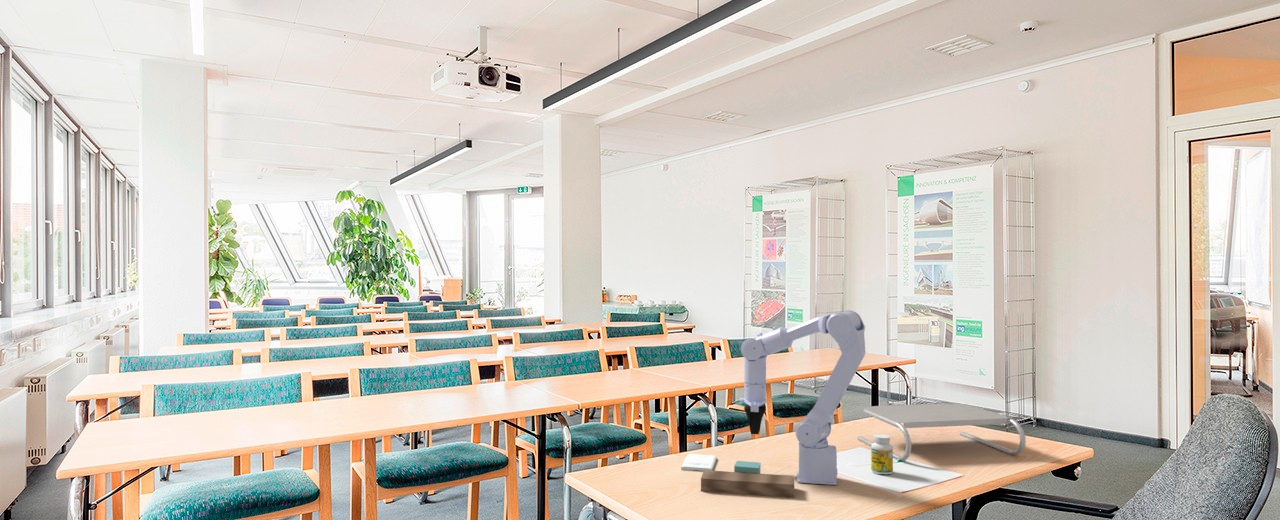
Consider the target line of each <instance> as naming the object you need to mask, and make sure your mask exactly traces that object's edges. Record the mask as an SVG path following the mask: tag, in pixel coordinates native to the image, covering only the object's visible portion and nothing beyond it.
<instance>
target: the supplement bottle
mask: <svg viewBox="0 0 1280 520" xmlns="http://www.w3.org/2000/svg"><path fill="white" fill-rule="evenodd" d="M873 441H874V442H873V444H872V445H871V446H870V450H871V453H870V455H871V456H870V457H871V458H870V460H871V461H870V463H871V465H870V466H871V467H870V468H871V470H870V471H871V472H872V473H873V472H874V473H873V474H875V473H877V474H876V475H878V474H891V475H892V474H893V472H894V470H893V469H894V461H893V459H894V458H893V453H894V452H893V451H894V450H893V449H894V448H893V445H892V444H891V443H890V442H891V437H890V436H889V435H888V434H880V433H879V434H874V435H873Z"/></svg>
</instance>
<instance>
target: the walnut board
mask: <svg viewBox="0 0 1280 520" xmlns="http://www.w3.org/2000/svg"><path fill="white" fill-rule="evenodd" d="M700 492H710V493H711V492H712V493H724V494H737V495H738V494H739V495H751V496H767V497H769V496H770V497H780V498H781V497H783V498H784V497H785V498H795V476H794V475H790V474H789V475H787V474H770V473H760V474H758V473H742V472H734V471H723V470H712V471H711V470H704V471H702V474H701V477H700Z"/></svg>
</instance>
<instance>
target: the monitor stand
mask: <svg viewBox="0 0 1280 520" xmlns="http://www.w3.org/2000/svg"><path fill="white" fill-rule="evenodd" d="M863 413H865V414H866V415H868V416H869V417H872V418H874V419H877V420H879V421H881V422H884V423H886V424H888V425H891V426H893V427H895V428H898V429H899V430H900V431H901V433H902V435H903V438H904V441H905V450H904V452H903V455H902V456H901V455H899V454H897V453H895V452H893V459H894V458H896V459H899V460H902V461H901V462H904V461H906V460H908V458H909V457H910V455H911V453H912V440H911V437H910V433H909V432H908V430H907V429H917V428H918V429H919V428H921V429H922V428H939V427H940V428H941V427H944V428H945V427H963V426H964V427H966V426H967V427H968V426H986V425H987V426H988V425H1007V424H1008V423H1010V424H1012V425H1013V426H1014V427H1015V429H1016V430H1017V433H1018V435H1019V436H1018V437H1019V445H1018V446H1017V448H1016V449H1015V450H1012V449H1010V448H1007V447H1005V446H1003V445H1000V444H997V443H994V442H992V441H989V440H986V439H983V438H980V437H978V436H975V435H973V434H970V433H968V432H965V431H960V433H959V434H960V436H961V437H964V438H967V439H968V440H971V441H974V442H976V441H977V443H980V444H983V445H985V446H986V447H989V446H990V448H992V447H993V448H992V449H995V450H997V449H998V451H1000V452H1001V451H1003V452H1002V453H1005V452H1006V454H1008V453H1009V454H1008V455H1010V454H1012V455H1011V456H1017V455H1020V454H1021V453H1022V452H1023V451H1024V449H1025V447H1026V442H1027V441H1026V434H1025V431H1024V429H1023V427H1022V425H1020V423H1019V422H1018V421H1016V420H1015V419H1013V418H1011V417H1008V416H1006V415H1002V414H1000V413H997V412H994V411H990V410H987V409H985V408H980V407H978V406H974V405H970V404H967V403H966V404H965V403H957V402H956V403H952V402H950V403H949V402H948V403H947V402H946V403H929V404H928V403H926V404H925V403H924V404H899V405H898V404H896V405H895V404H893V405H874V406H873V405H872V406H867V407H865V408H863ZM857 440H858V441H859V442H860V443H861V442H862V443H863V444H864V445H868V446H869V447H871V445H872V444H873V443H874V442H873V441H872V440H870V439H867V438H865V437H863V436H860V435H858V436H857ZM896 459H895V460H896ZM899 460H898V461H899Z"/></svg>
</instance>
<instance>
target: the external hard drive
mask: <svg viewBox="0 0 1280 520" xmlns="http://www.w3.org/2000/svg"><path fill="white" fill-rule="evenodd" d="M716 461H717V455H711V454H698V453H697V454H696V453H695V454H694V453H687V455H686V457H685V459H684V461H683V462H682V465H681V466H680V471H692V472H693V471H694V472H695V471H697V472H704V470H711V471H714V470H713V469H714V467H715V465H716V463H717V462H716Z"/></svg>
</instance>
